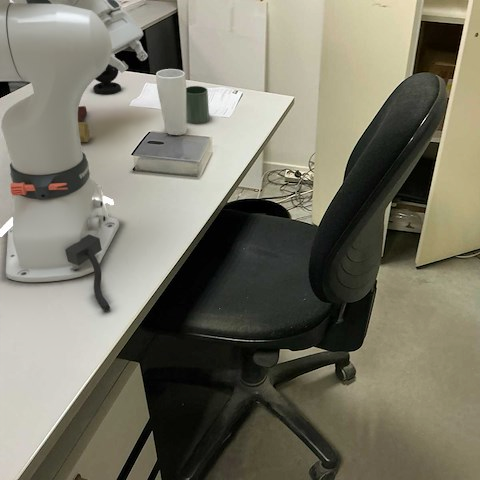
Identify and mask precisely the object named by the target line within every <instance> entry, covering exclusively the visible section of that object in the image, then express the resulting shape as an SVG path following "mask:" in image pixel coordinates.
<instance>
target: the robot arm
mask: <svg viewBox="0 0 480 480" xmlns="http://www.w3.org/2000/svg"><path fill="white" fill-rule="evenodd" d="M10 1H12V2H10ZM122 8H123V7H122V4H121V3H120V1H118V0H0V82H25V83H27V82H28V83H30V84H31V86H32V91H33V93H32V94H31V95H29V96H27V97H25V98H23V99H20V100H19V101H17V102H16V103H14V104H13V105H11V106H10V107H8V109H7V110H6V111H5V112H4V114H3V116H2V118H1V123H0V126H1V132H2V135H3V139H4V142H5V145H6V149H7V153H8V157H9V159H10V163H9V169H10V173H9V175H10V180H11V183H10V193H11V196H12V203H11V204H12V209H11V210H12V215H11V216H12V217H11V218H10V219H9V220H8V221H6V223H5V224H4V225H3V226H2V227H1V228H0V237H3V236H4V235H5V234H6V233H7V242H6V259H5V276H6V278H7V279H10V280H12V281H17V282H22V283H46V282H47V283H48V282H49V283H50V282H58V281H65V280H67V281H68V280H72V279H76V278H81V277H84V276H87V275H89V274H92V273H94V280H93V291H94V294H95V295H94V296H95V298H96V300H97V302H98V303H99V304H100V306H101V307H102V309H103V310H104V311H109V310H110V309H111V306H110V304H109V302H108V301H107V299H106V298H105V297H104V296H103V292H102V289H101V284H102V283H101V282H102V269H101V265H100V264H101V262H102V260H103V258H104V256H105V254H106V252H107V250H108V249H109V246H110V245H111V243H112V241H113V239H114V238H115V235H116V233H117V231H118V230H119V228H120V222H119V219H117V218H115V217H112V216H109V213H108V209H107V205H106V204H109V205H110V206H113V205H114V200H113V199H111V198H109V197H107V196H105V195H104V193H103V192H104V191H103V189H102V186H101V185H100V184H99V183H98V182H96V181H95V180H93V179H92V178H91V176H90V175H91V173H90V167H89V166H90V164H89V161H88V160H87V159H88V158H87V156H86V154H85V153H84V151H83V148H82V142H80V136H79V128H78V107H79V106H80V103H81V100H82V97H83V95H84V93H85V91H86V90H87V88H88V87H89V86H90V85H91V83H92V82H94V81H95V78H97V77H98V76H99V75H101V74H102V72H103V71H104V70H105V69H106V67H107V65H108V64H110V65H112V66H114V67H116V68H117V69H118V72H120V73H125V72H126V71H127V70H128V69H129V65H128V64H127V63H126V62H125V61H124V60H122V61H121V59H118V58H117V57H116V55H115V54H117V53H119V52H121V51H123V50H126V49H127V48H129V47H130V49H132V50H134V51H135V53H136V58H138V60H139V61H140V62H144V61H146V60H147V58H148V57H149V55H148V53H147V52H146V51H145V50H144V47H143V46H142V43H141V41H140V40H141V39H142V37H143V36H144V32H143V30H142V28H141V27H140V25H139V24H138V23H137V21H135V19H134V18H133V17H132V16H131V15H130V14H129V13H128V12H127V11H126V10H124V9H122Z"/></svg>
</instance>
